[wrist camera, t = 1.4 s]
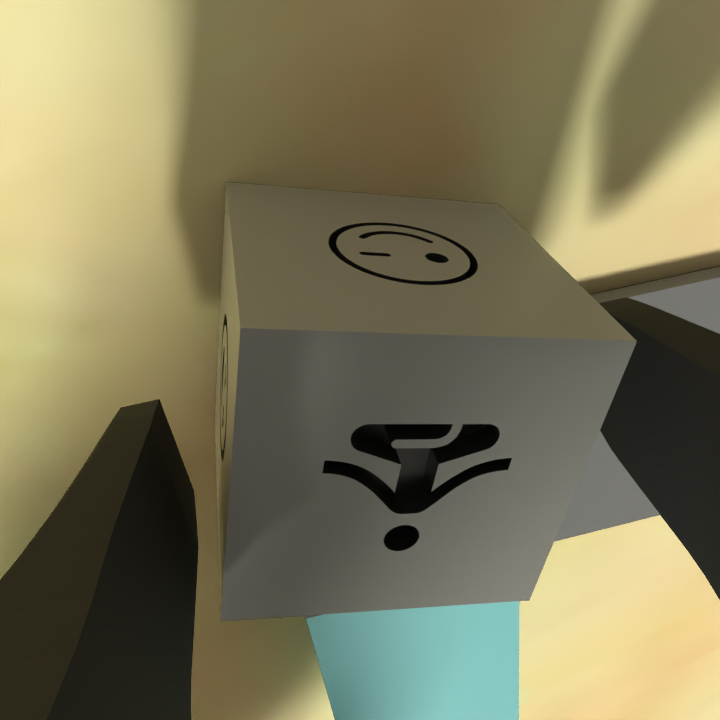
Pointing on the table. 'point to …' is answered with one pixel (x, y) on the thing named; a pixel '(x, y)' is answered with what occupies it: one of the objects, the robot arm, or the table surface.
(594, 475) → the stub pad
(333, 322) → the dice cube
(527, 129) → the table surface
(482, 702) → the turquoise box
